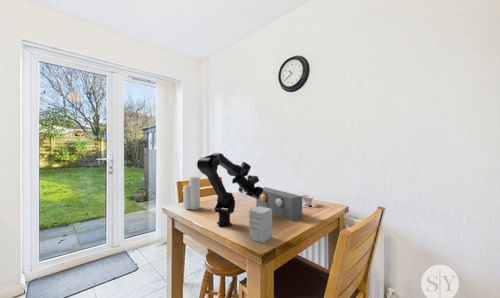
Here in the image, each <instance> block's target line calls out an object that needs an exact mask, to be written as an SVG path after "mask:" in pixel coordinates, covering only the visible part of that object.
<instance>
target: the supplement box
mask: <svg viewBox="0 0 500 298" xmlns="http://www.w3.org/2000/svg"><path fill="white" fill-rule="evenodd" d="M248 211H249V213H248V214H249V217H248V218H249V221H248V222H249V225H248V226H249V227H248V228H249V231H248V232H249V239H250V240H251V241H252V240H253V241H256V242H258V243H261V244H264V243H265V242H267V241H269V240H270V239H272V238H273V213H272V209H270V208H265V207H260V206H258V207H256V206H255V207H254V208H251V209H249V210H248Z"/></svg>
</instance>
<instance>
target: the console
mask: <svg viewBox="0 0 500 298" xmlns="http://www.w3.org/2000/svg"><path fill="white" fill-rule="evenodd" d="M262 188H263V192H262V193H261V194H266V195H267V200H266V201H262V200H261V198H260V196H261V195H260V196H259V199H256V198H255V200H256V201H255V203H256V205H255V208H256V207H258V206H260V207H265V208H270V209H272V214H274V215H277V216H279V217H281V218H284V219H286V220H290V221H297V220H299V219H303V207H302V203H303V198H302V196H303V195H299V194H295V193H290V192H287V191H282V190H278V189H276V188H275V189H274V188H270V187H267V186H265V187H262ZM278 198H281V199H282V200H283V205H282V206H279V207H278V206H277V205H276V203H275V201H276V199H278Z"/></svg>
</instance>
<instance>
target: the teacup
mask: <svg viewBox="0 0 500 298" xmlns="http://www.w3.org/2000/svg"><path fill="white" fill-rule="evenodd" d="M301 196H302V208H307V209H310V208H311V209H315V208H317V207H318V204H317V203H313V202H312V201H313V199H314V196H313V195H310V194H303V195H301ZM311 204H314V205H316V206H315V208H314V207H309V206H311Z"/></svg>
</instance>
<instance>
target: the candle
mask: <svg viewBox="0 0 500 298" xmlns="http://www.w3.org/2000/svg"><path fill="white" fill-rule="evenodd" d="M188 179H189V181H188V182H189V183H188V184H184V185H183V187H182V189H183V191H182V192H183V198H182V200H183V201H182V203H183V205H182V207H184V208H183V209H184V210H185V209H189V210H190V209H192V211H194V210H195V209H197V210H199V208H201V198H200V197H201V190H200V189H201V188H200V185H201V184H200V182H201V179H200V176H190V177H189V178H188Z"/></svg>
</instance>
